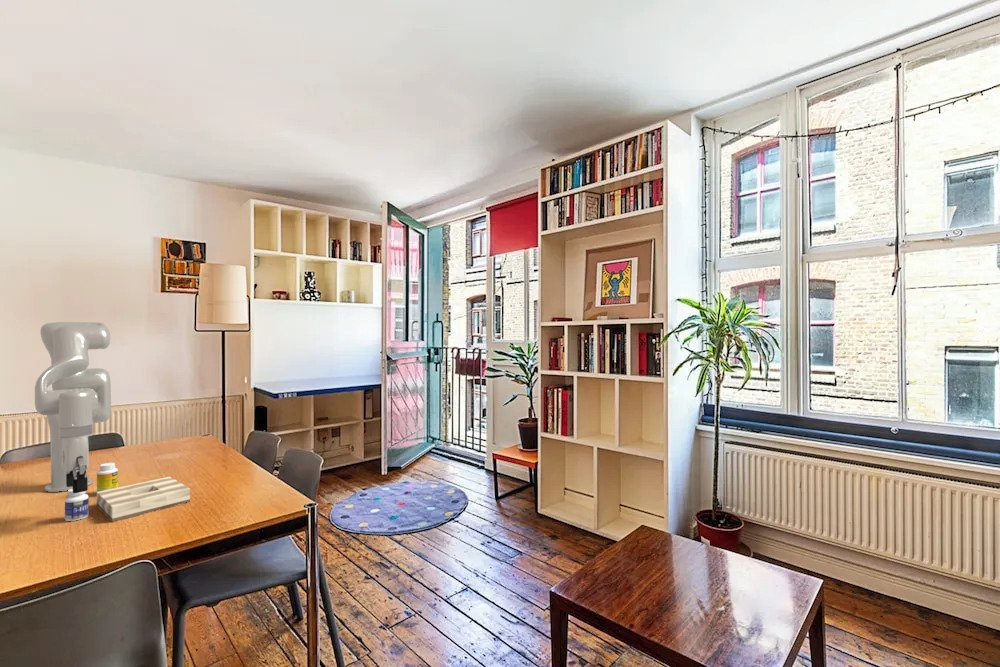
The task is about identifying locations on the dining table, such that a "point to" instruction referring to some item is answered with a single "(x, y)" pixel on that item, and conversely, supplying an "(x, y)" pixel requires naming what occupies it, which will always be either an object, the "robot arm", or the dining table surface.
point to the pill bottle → (76, 506)
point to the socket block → (142, 498)
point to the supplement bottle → (107, 477)
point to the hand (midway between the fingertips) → (76, 488)
